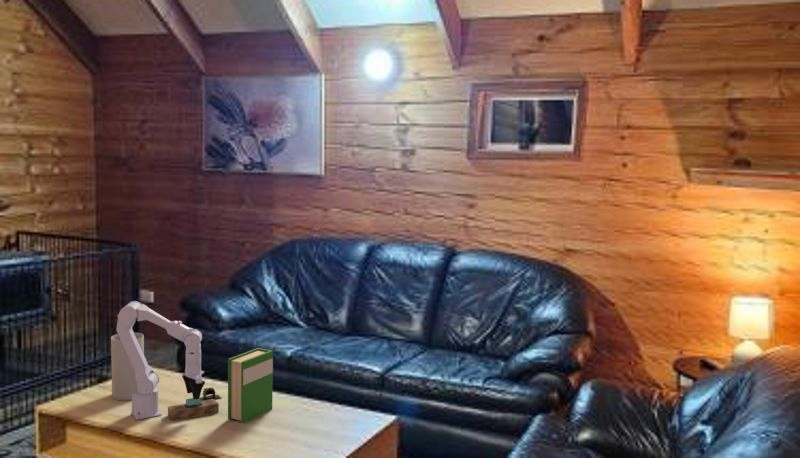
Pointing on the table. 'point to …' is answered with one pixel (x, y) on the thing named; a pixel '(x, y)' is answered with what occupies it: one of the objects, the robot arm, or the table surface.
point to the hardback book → (250, 384)
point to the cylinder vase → (123, 369)
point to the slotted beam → (193, 410)
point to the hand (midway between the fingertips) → (193, 395)
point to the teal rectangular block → (193, 402)
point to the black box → (208, 392)
